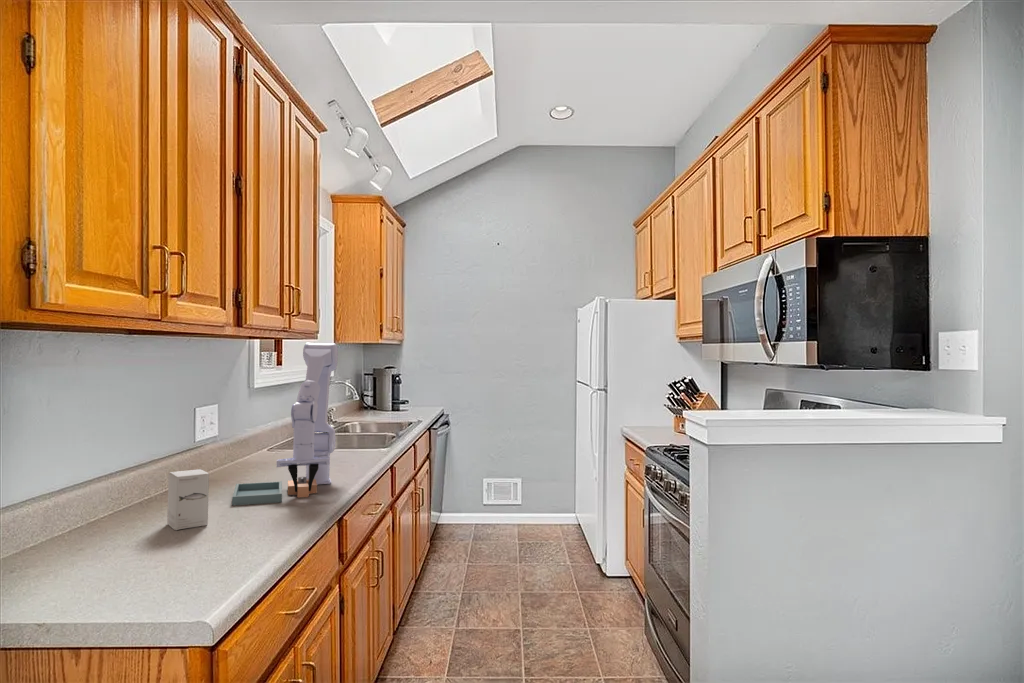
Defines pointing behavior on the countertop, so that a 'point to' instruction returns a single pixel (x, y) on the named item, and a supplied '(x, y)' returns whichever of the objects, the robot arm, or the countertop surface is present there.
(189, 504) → the supplement box
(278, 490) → the tray
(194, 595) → the countertop surface
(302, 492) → the collar
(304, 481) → the grey metal cylinder
